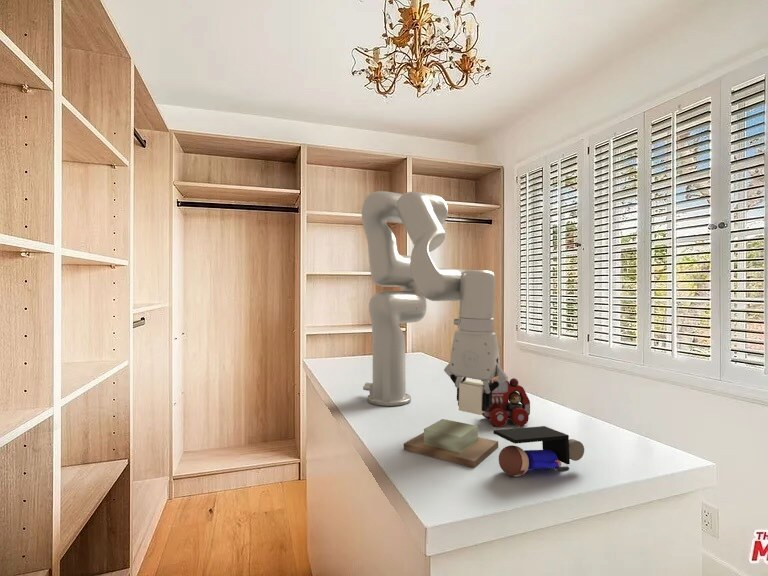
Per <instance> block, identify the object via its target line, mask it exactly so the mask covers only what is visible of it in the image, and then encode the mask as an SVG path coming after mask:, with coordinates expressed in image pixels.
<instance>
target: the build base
mask: <svg viewBox="0 0 768 576" xmlns="http://www.w3.org/2000/svg"><path fill="white" fill-rule="evenodd" d="M497 449H499V441H498V440H494V439H489V438H485V437H479V425H475V424H471V423H465V422H460V421H455V420H449V419H445V418H444V419H443V418H441V419H440V420H438V421H436V422H434V423H432V424H430V425H428V426H426V427H425V428H423V432H422V433H420V434H418V435H416V436H415V437H413V438H410V439H409V440H407V441H405V442H404V443H403V450H404V451H406V452H407V451H408V452H412V453H416V454H419V455H424V456H427V457H431V458H434V457H435V459H440V460H443V461H447V462H451V463H454V464H455V463H456V464H458V465H463V466H466V467H469V468H473V469H474V468H476V467H478V465H480V464H481V463H482V462H483V461H484V460H485V459H487V458H488V457H489V456H490V455H491V454H493V452H495V451H496V450H497Z"/></svg>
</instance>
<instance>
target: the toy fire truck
mask: <svg viewBox="0 0 768 576" xmlns="http://www.w3.org/2000/svg"><path fill="white" fill-rule="evenodd" d="M496 380H497V379H493V382H495V381H496ZM480 381H482V380H480ZM530 414H531V401H530V399H529V397H528V395H527V392H526V390H525V389H524V387H523V386H522V385H520V384H519V380H518V379H517V378H515V377H514V378H513V377H512V378H511V379H509V380H508V381H506V382H504V383H503V384H501V385H500V386H498V387H497V388H496V389H495V390H494V391H492V406H491V407H490V409H488V410H487V411H485V412H484V413H482V414H481V416H483V418H484V419H487V420H489V421H490V423H491V424H492V425H493V426H495V427H497V428H500V427H503V426H505V425H506V424H507V422H508V420H511V422H512V423H513V424H515V425H516V426H518V427H522V426H525V425H526V424H528V422H529V419H530V417H529V416H530Z"/></svg>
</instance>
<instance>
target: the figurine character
mask: <svg viewBox="0 0 768 576" xmlns="http://www.w3.org/2000/svg"><path fill="white" fill-rule="evenodd" d="M492 433H493V434H494V435H496V436H498V437H500V438H502V439H504V440H506V441H509V442H511V443H513V444H514V445H512V444H511V445H507V446H504V447H503V448H502V449H501V450H500V452H499V453H498V465H499V467H500V468H501V470H502V472H503V473H504V474H506V475H508V476H510V477H513V478H514V477H520V476H522V475H524V474H526V473H527V471H528V470H545V469H555V470H556V471H559V470H560V471H561V470H569V469H570V467H569V465H570V464H571V461H570V460H572V461H574V462H576V461H577V462H578V461H580V460H581V459H582V458H583V456H584V454H585V446H584V444H583V443H582V442H581V441H579V440H576V439H573V438H569V437H570V436H569V435H568V433H567V434H566V433H563V432H561V431H559V430H555V429H553V428H552V427H548V426H546V425H545V426H544V425H541V426H529V427H527V426H525V427H515V428H502V429H501V428H500V429H493V431H492ZM537 442H542V449H529V450H526V449H525V450H524V449H523V448H522V447H520V446H517V445H515V444H524V443H537ZM562 463H564V464H565V465H568V466H561V465H562Z"/></svg>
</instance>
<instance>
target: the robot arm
mask: <svg viewBox="0 0 768 576" xmlns="http://www.w3.org/2000/svg"><path fill="white" fill-rule="evenodd" d="M448 207H449V206H448V205H447V202H446V200H445V199H443V198H442V197H441V196H440V195H438V194H437V195H436V194H431V193H426V192H422V191H421V192H420V191H408V192H405V193H398V192H392V191H386V190H385V191H384V190H383V191H382V190H377V191H374V192H373V191H372V192H370V193H369V194H368V195H367V196H366V197H365V199H364V201H363V202H362V206H361V222H362V227H363V230H364V232H365V233H364V234H365V237H366V240H367V247H368V260H369V268H370V275H371V280H372V282H373V283H374V284H375V285H377V286H378V287H379V286H380V287H385V288H386V287H387V288H389V287H390V288H393V287H394V288H395V287H396V288H397V287H398V288H399V287H400V288H401V290H382V291H378V292H376V293H374V294H373V295H372V296H371V297H370V300H369V302H368V311H369V312H368V313H369V317H370V322H371V332H372V333H371V334H372V337H371V339H372V382H365V383H364V385H363V386H362V390H363V391H367V392H369V394H367V398H366V399H367V402H368V403H370V404H372V405H375V406H382V407H383V406H385V407H390V406H391V407H393V406H395V407H396V406H402V405H407V404H408V403H411V401H412V397H411V395H410V394H408V393H406V390H407V389H406V385H407V384H406V336H405V334H404V331H403V330H402V328H401V326H400V324H406V323H407V324H410V323H417V322H420V321H422V320H423V319H424V317H425V315H426V313H427V300H429V301H431V302H448V301H449V302H459V314H458V315H459V316H458V318H454V319H453V324H454V325H455V326H457V327H458V330H455V331H454V335H453V340H452V344H451V345H452V346H451V350H450V360H449V361H450V362H448V364H447V365H446V366H445V367H444V369H443V371H444V373H446V375H447V376H448V377H449V378H450V380H451V381H452V383H454V388H456V401H457V406H458V407H459V383H461V382H463V381H466V380H467V379H471V380H477V381H481V380H482V381H483V386H484V393H483V394H482V411H487V410H488V409H490V407H491V406H492V391H494V390H495V389H496V388H497V387H498V386H500V385H501V384H503V383H504V382H506V381H509V377H508V376H507V373H506V372H505V371H504V370H503V369H502V367H501V365H500V347H499V340H498V336H497V333H496V332H494V329H495V328H494V327H495V326H494V325H495V302H496V301H495V300H496V299H495V298H496V297H495V296H496V295H495V293H496V275H495V273H494V272H493V271H491V270H487V269H486V270H485V269H484V270H483V269H457V268H456V269H455V268H439V267H437V266H436V265H435V262H434V261H433V259H432V258H431V255H430V253H432V252H434V251H435V250H436V249H438V248H439V247H440V246H441V245H442V244H443V242H444V240H445V238H446V232H445V229H444V228H443V226H442V224H444V223H445V222H446V220H447V219H448V215H449V208H448ZM388 223H394V224H395V223H396V224H402V225H403V226H404V228H405V230H406V233H407V235H408V236H409V239H410V241H411V242H412V244H413V247H412V250H411V253H410V255H405V254H404V255H402V254H400V253H399V251H398V243H397V239H396V236H395V233H394V232H393V230H392V229H391V227H390V226H389V225H388ZM496 377H498V379H495V380H496V381H495V382H493V380H494V378H496Z"/></svg>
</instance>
